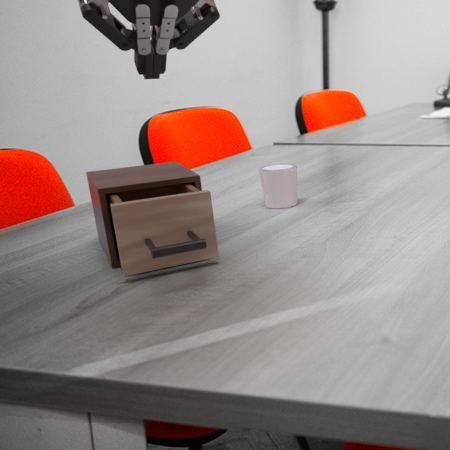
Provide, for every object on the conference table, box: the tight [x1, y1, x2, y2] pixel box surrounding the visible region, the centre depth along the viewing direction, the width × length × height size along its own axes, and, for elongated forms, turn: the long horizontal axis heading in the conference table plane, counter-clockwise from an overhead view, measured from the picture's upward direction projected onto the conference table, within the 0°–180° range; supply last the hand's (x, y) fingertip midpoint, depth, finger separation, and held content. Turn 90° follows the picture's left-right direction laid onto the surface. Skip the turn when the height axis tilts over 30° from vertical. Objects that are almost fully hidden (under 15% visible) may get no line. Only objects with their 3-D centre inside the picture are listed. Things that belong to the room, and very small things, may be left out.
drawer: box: [105, 183, 220, 277], centre depth 73 cm, size 20×11×9 cm, turn 33°
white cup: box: [258, 163, 298, 210], centre depth 103 cm, size 7×7×7 cm
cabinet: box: [85, 161, 203, 269], centre depth 82 cm, size 15×13×11 cm
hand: (149, 73), depth 61 cm, fingers closed
